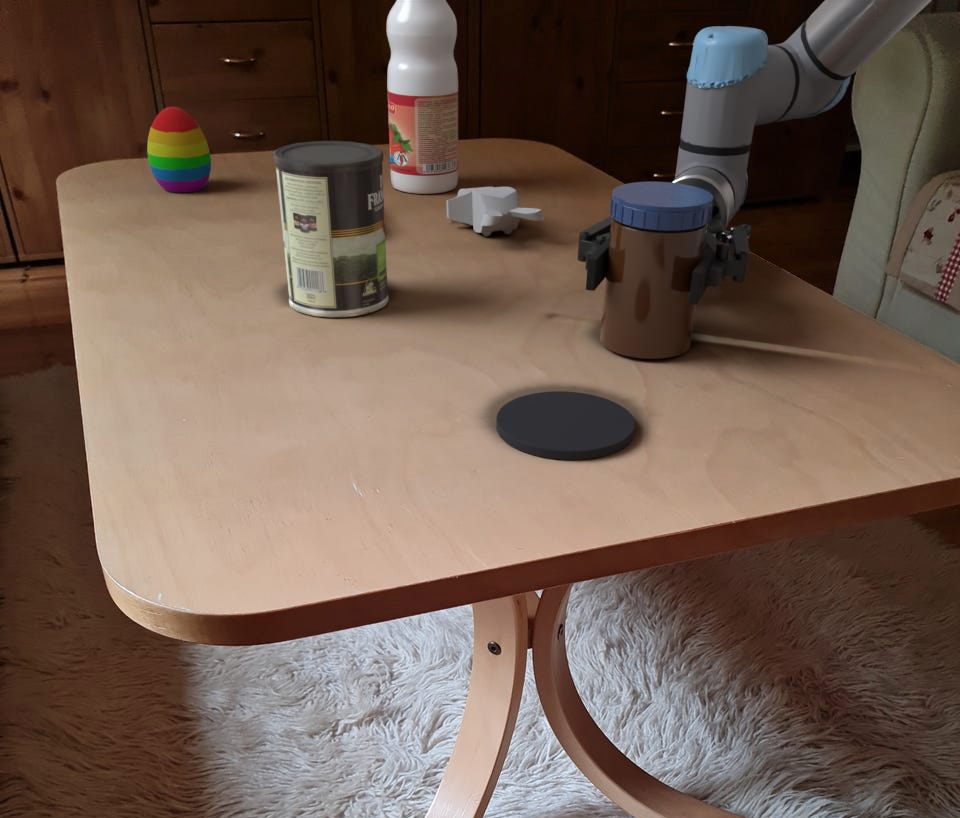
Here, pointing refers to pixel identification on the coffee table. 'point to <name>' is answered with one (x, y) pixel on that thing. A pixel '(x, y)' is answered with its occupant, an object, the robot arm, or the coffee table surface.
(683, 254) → the jar
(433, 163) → the fruit juice
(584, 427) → the coaster
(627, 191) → the jar lid
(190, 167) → the decorative egg
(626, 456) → the coffee table surface
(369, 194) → the coffee can
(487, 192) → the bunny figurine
